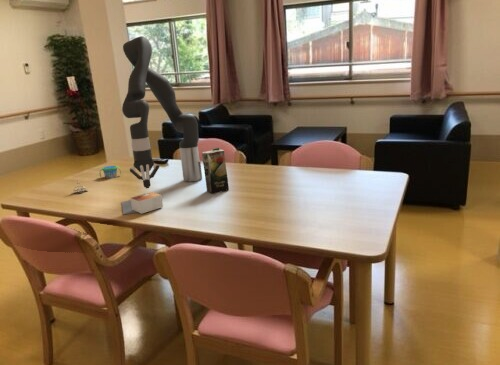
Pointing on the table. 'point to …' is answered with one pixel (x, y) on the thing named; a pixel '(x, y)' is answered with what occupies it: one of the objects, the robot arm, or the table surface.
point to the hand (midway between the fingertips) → (147, 187)
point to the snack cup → (110, 171)
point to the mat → (127, 208)
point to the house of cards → (79, 189)
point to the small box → (146, 202)
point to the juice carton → (215, 171)
